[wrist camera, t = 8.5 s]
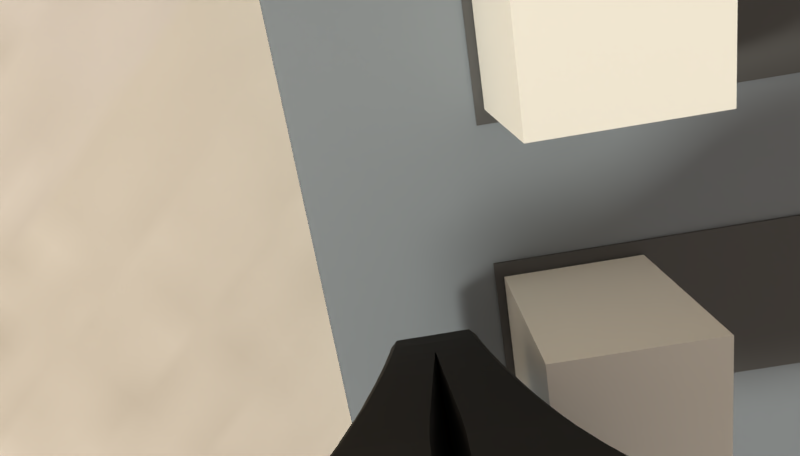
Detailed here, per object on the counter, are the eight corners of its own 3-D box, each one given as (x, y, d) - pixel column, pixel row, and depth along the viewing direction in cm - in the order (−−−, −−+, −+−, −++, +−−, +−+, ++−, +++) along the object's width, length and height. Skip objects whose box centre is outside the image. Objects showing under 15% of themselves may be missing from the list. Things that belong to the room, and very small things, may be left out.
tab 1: (636, 83, 10) (736, 108, 7) (484, 109, 10) (523, 143, 7) (630, -85, 9) (739, -132, 6) (464, -56, 9) (500, -90, 7)
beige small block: (648, 375, 12) (732, 487, 9) (518, 396, 12) (560, 513, 9) (643, 254, 11) (733, 334, 8) (504, 276, 11) (546, 364, 8)
